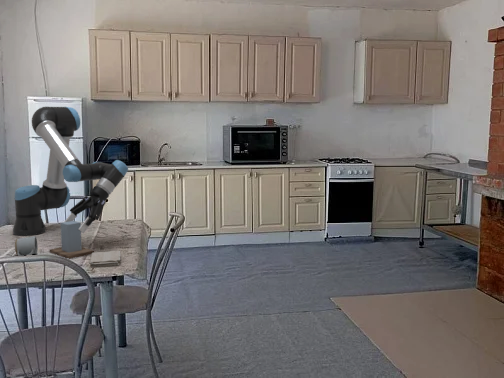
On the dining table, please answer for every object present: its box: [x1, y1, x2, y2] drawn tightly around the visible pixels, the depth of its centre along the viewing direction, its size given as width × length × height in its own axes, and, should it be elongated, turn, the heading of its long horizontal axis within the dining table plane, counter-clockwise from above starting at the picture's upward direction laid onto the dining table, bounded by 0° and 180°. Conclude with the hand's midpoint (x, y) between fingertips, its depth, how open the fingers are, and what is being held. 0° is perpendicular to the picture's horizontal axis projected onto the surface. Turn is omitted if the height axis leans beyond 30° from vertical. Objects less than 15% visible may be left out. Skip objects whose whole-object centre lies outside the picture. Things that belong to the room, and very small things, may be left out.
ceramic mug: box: [14, 235, 39, 257], centre depth 220 cm, size 11×8×8 cm
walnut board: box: [48, 246, 95, 260], centre depth 225 cm, size 16×12×1 cm
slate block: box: [60, 220, 83, 253], centre depth 224 cm, size 6×6×12 cm
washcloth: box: [89, 250, 121, 268], centre depth 213 cm, size 12×18×3 cm, turn 15°
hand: (72, 228), depth 224 cm, fingers open, 13 cm apart
